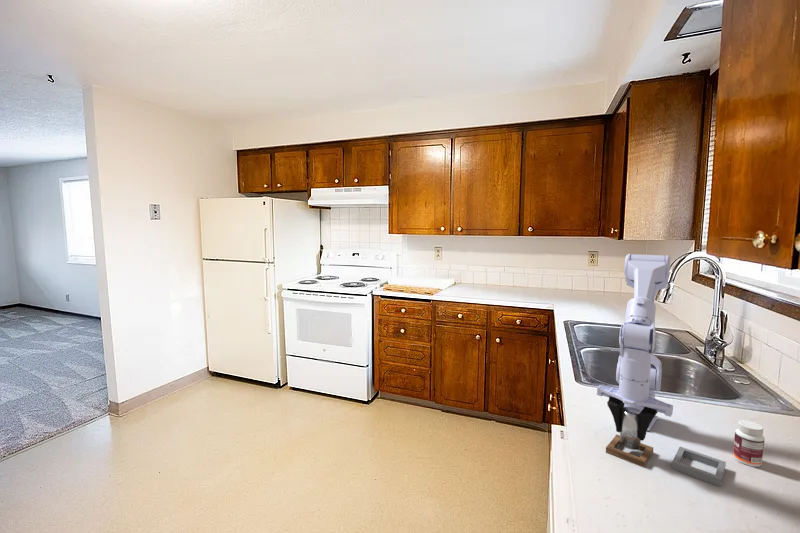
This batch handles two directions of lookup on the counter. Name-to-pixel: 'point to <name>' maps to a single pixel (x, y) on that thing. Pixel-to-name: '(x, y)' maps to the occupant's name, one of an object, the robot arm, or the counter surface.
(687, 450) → the frame
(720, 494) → the counter surface
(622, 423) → the grey thick round cylinder
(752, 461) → the pill bottle
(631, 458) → the socket frame
